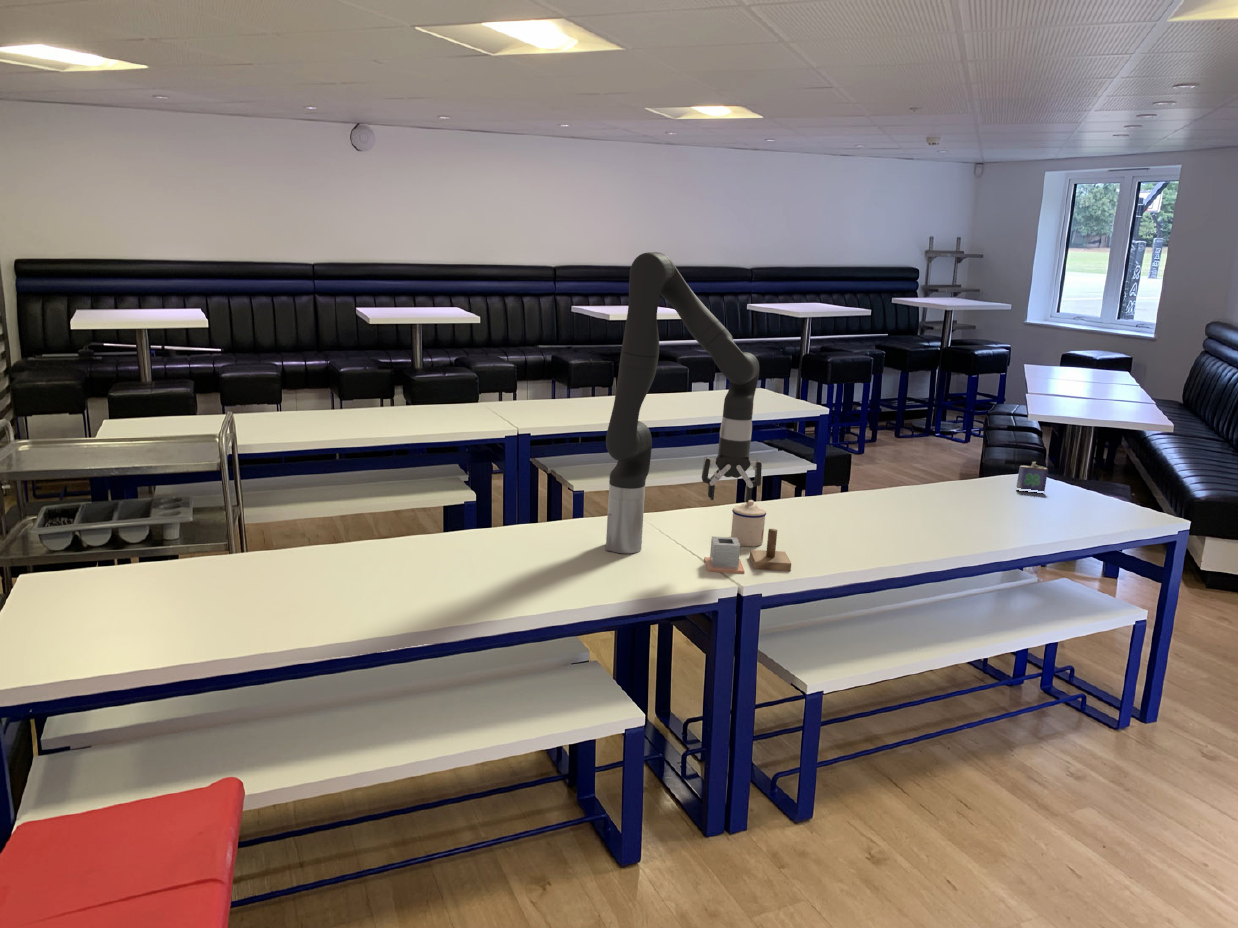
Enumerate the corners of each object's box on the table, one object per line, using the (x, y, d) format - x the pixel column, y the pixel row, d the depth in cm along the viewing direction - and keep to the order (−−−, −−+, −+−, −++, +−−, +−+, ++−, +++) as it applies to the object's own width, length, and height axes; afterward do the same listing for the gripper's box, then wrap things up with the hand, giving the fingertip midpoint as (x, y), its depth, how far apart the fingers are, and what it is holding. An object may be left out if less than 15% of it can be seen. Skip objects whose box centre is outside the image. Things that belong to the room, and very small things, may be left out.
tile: (707, 571, 226) (707, 569, 226) (704, 559, 235) (704, 557, 235) (744, 573, 226) (744, 571, 226) (739, 561, 235) (739, 558, 235)
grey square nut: (712, 567, 228) (714, 544, 226) (709, 559, 234) (711, 536, 232) (738, 569, 228) (740, 545, 226) (735, 560, 234) (737, 537, 232)
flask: (1016, 491, 322) (1021, 461, 320) (1015, 489, 325) (1019, 459, 323) (1044, 494, 320) (1049, 464, 318) (1043, 492, 323) (1048, 462, 320)
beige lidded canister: (769, 546, 248) (773, 504, 245) (737, 548, 245) (741, 505, 243) (750, 532, 259) (754, 492, 256) (720, 534, 257) (723, 493, 254)
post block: (754, 569, 230) (757, 534, 228) (749, 557, 239) (752, 523, 237) (790, 570, 230) (794, 536, 228) (784, 558, 239) (787, 525, 237)
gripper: (707, 437, 219) (701, 503, 223) (767, 441, 220) (760, 506, 223) (704, 430, 227) (698, 494, 230) (762, 434, 227) (755, 498, 231)
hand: (729, 500), depth 227 cm, fingers open, 8 cm apart
